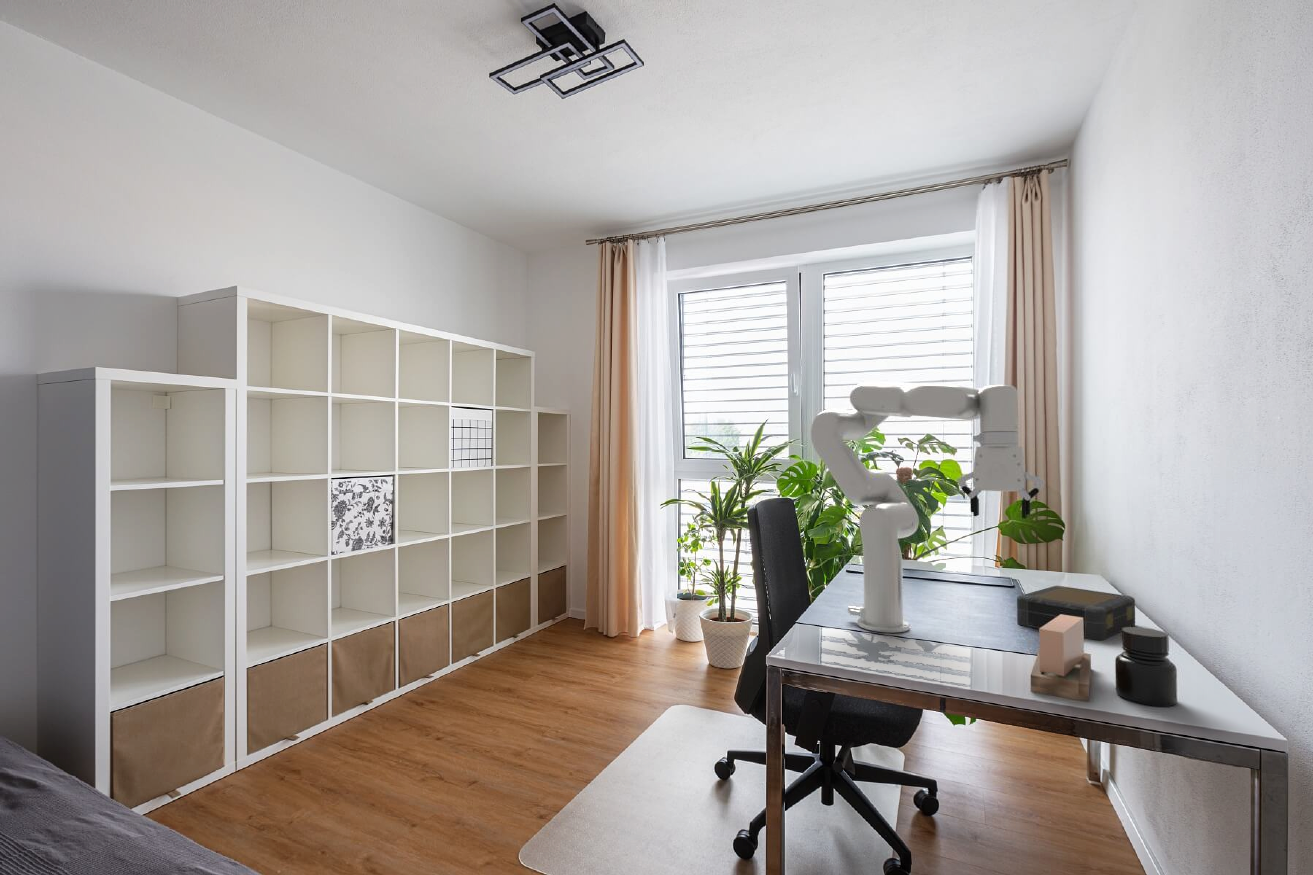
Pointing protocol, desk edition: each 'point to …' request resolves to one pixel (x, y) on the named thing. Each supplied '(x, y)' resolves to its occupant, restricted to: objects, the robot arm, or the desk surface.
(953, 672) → the desk surface
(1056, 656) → the pink rectangular block
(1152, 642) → the ink bottle
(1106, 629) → the cash box
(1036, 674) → the tray
